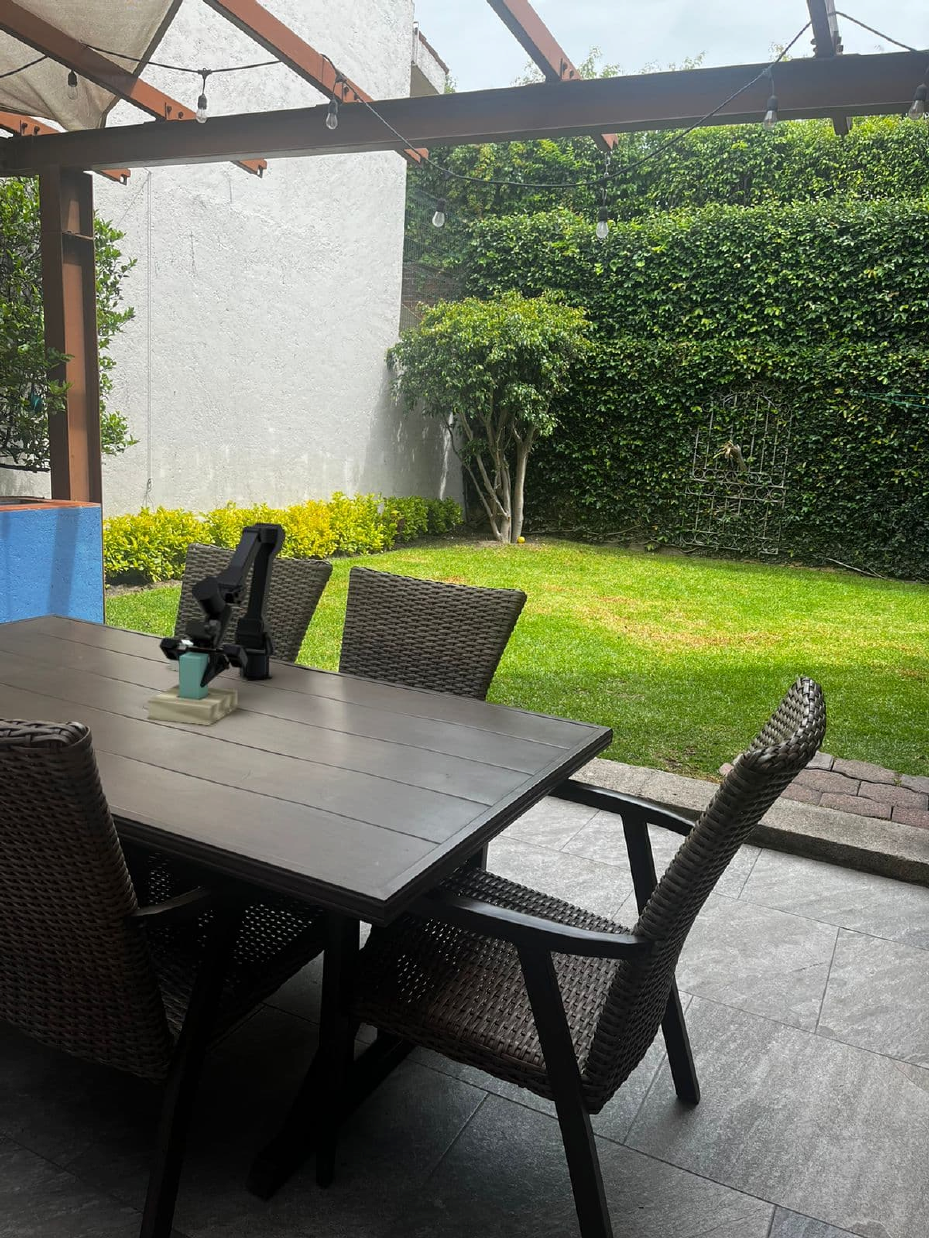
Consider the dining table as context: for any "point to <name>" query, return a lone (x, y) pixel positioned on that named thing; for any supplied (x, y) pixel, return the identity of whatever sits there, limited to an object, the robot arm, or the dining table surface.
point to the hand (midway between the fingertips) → (190, 685)
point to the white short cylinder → (174, 664)
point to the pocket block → (192, 706)
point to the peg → (192, 675)
